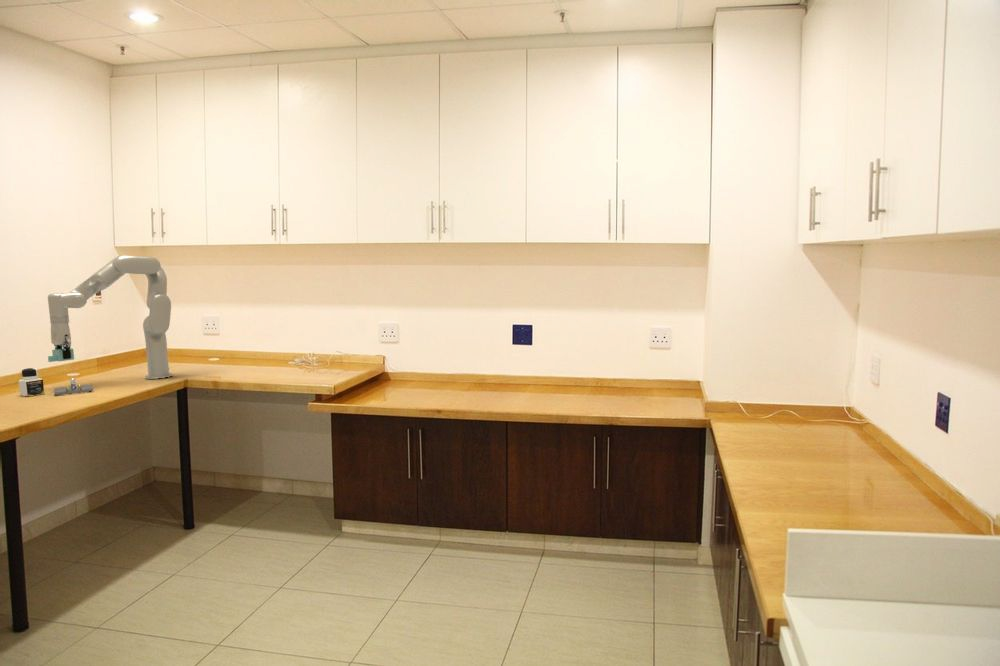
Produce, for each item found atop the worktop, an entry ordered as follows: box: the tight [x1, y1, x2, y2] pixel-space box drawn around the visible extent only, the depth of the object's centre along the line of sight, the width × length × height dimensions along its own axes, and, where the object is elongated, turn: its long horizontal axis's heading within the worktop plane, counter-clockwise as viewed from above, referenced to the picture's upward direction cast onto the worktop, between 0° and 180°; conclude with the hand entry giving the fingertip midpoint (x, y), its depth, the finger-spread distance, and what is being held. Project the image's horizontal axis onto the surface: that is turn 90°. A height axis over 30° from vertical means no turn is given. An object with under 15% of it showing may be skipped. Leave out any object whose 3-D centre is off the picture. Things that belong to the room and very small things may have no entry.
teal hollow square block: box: [47, 348, 75, 363], centre depth 338 cm, size 9×6×5 cm
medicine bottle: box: [17, 367, 45, 397], centre depth 326 cm, size 7×7×12 cm
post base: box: [53, 377, 94, 396], centre depth 332 cm, size 15×15×6 cm
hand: (63, 358), depth 339 cm, fingers closed on teal hollow square block, 6 cm apart
